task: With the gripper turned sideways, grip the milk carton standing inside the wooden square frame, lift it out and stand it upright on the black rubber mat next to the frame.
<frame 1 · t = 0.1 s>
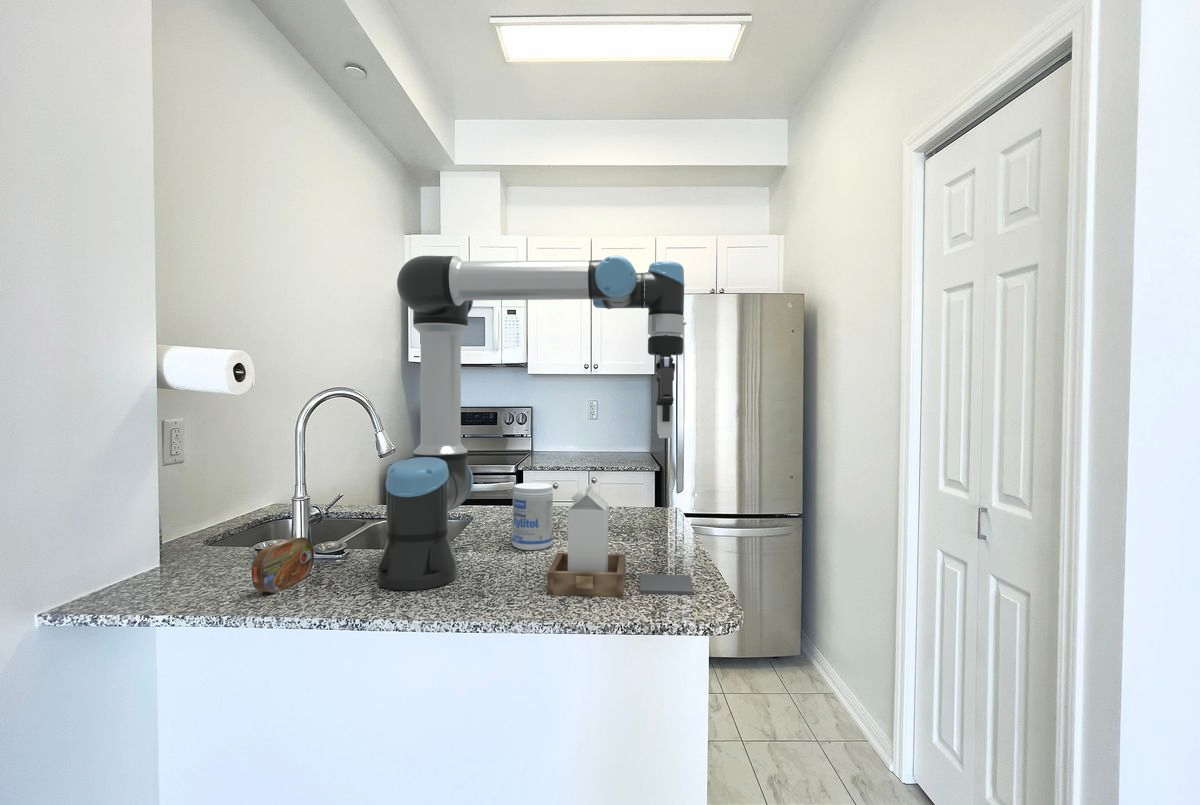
hand: (664, 436, 129), 28 cm above the countertop, tool pointing down, fingers open, 13 cm apart
rubber mat: (665, 585, 117), on the countertop
tin: (283, 586, 116), on the countertop
supplement tub: (532, 547, 146), on the countertop
milk carton: (588, 584, 118), resting in wooden square frame
wooden square frame: (588, 583, 118), on the countertop
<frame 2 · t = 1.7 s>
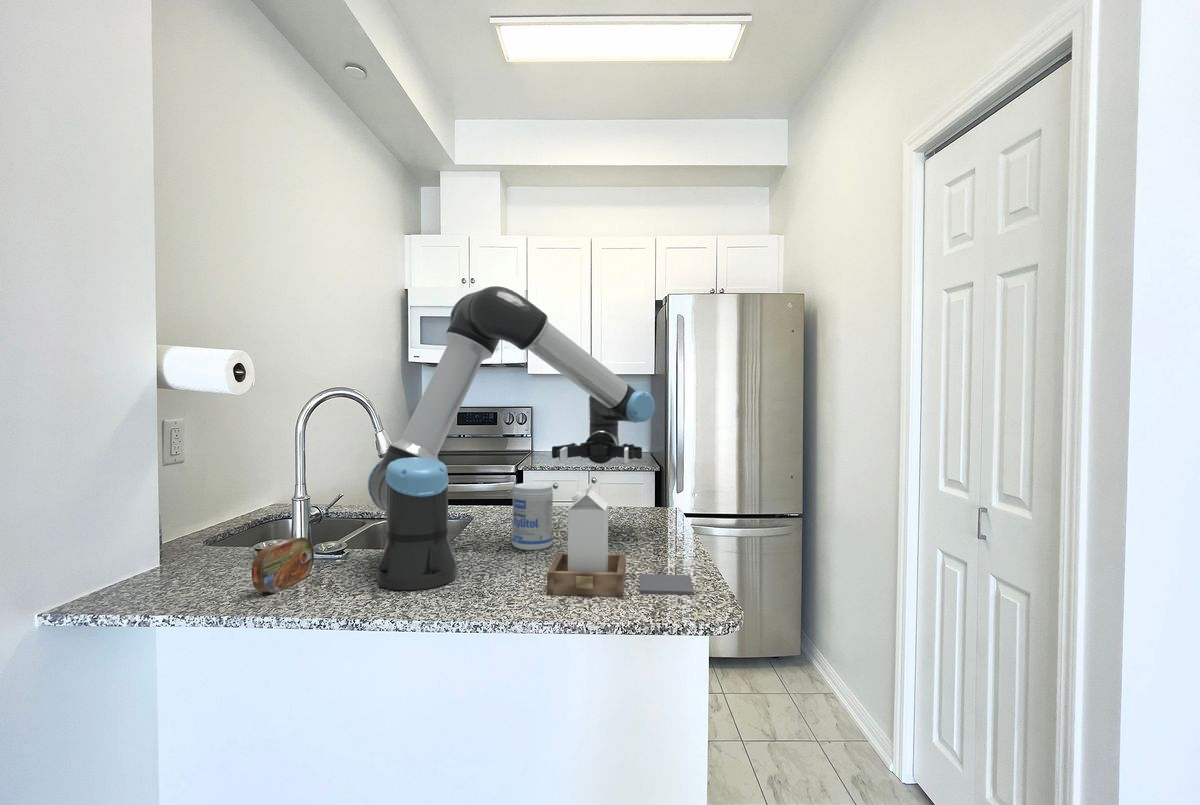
hand: (593, 456, 128), 24 cm above the countertop, tool horizontal, fingers open, 13 cm apart
nothing on the countertop moved.
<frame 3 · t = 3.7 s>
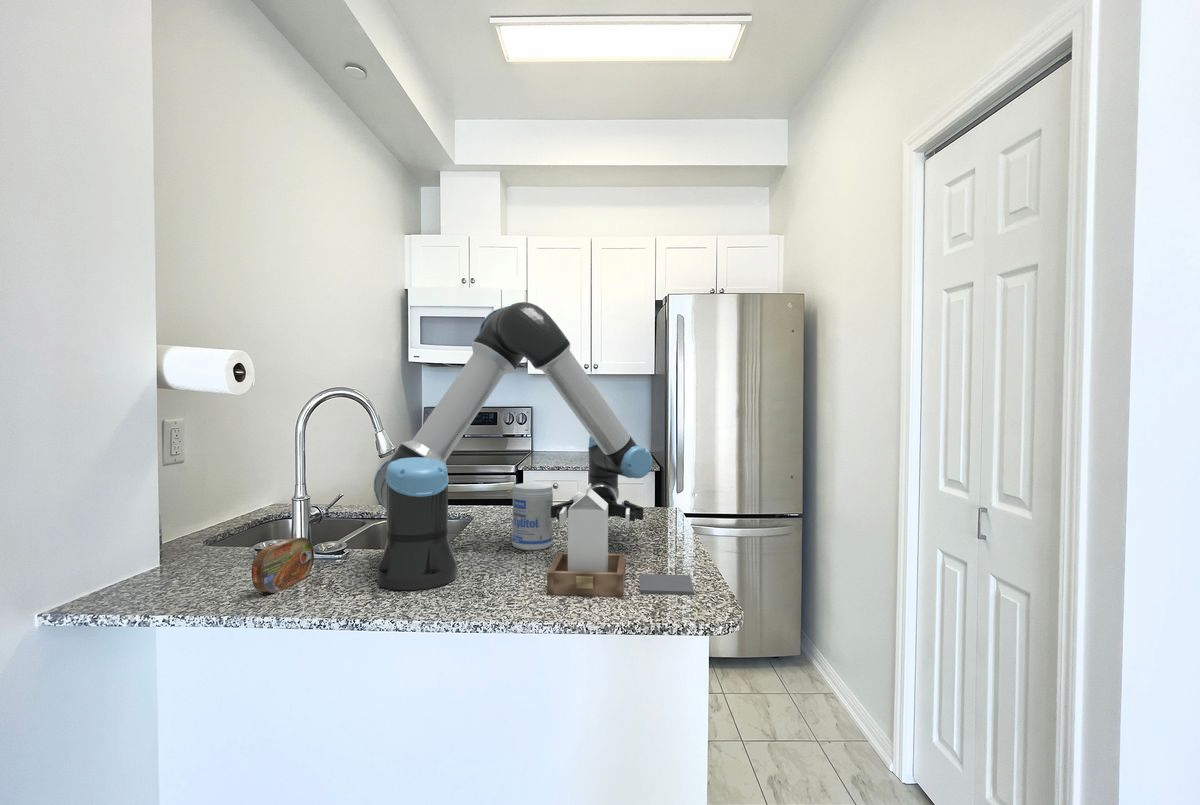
hand: (594, 520, 124), 11 cm above the countertop, tool horizontal, fingers open, 13 cm apart
nothing on the countertop moved.
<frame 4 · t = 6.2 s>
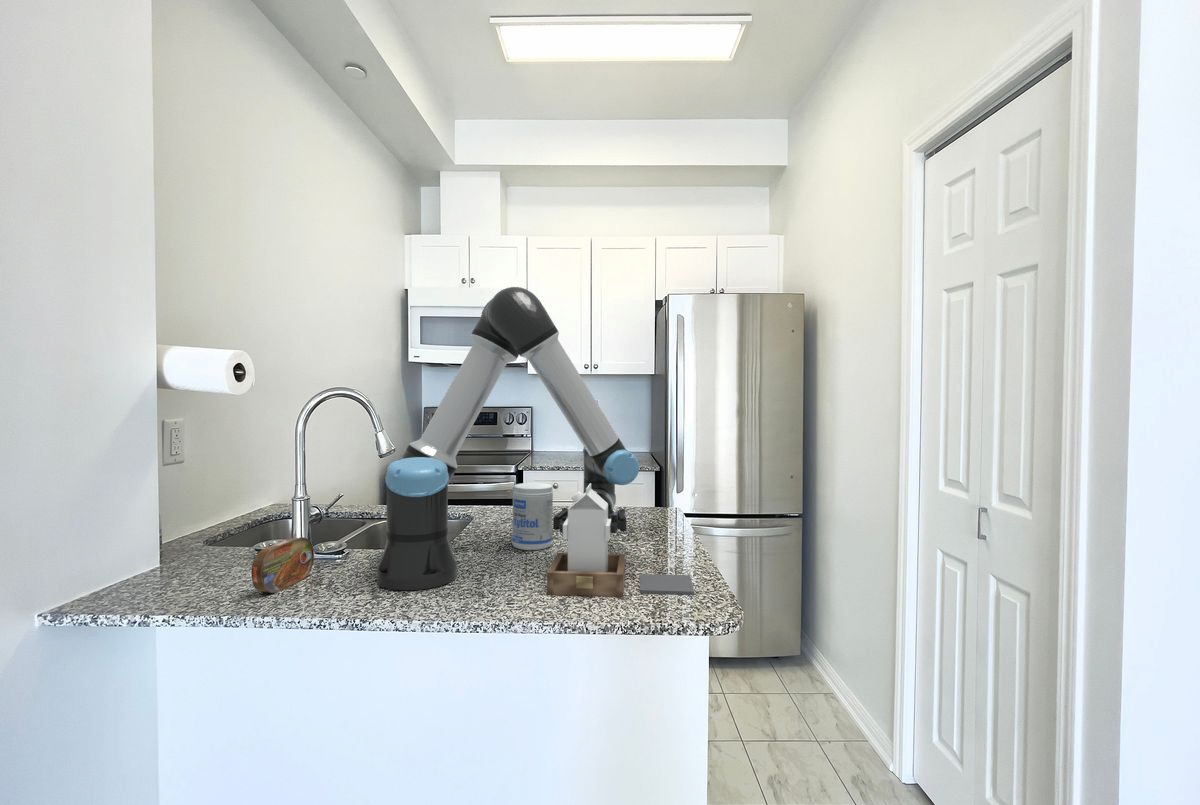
hand: (585, 532, 113), 11 cm above the countertop, tool horizontal, fingers closed on milk carton, 7 cm apart
milk carton: (588, 584, 118), resting in wooden square frame, touching gripper
everything else where it was.
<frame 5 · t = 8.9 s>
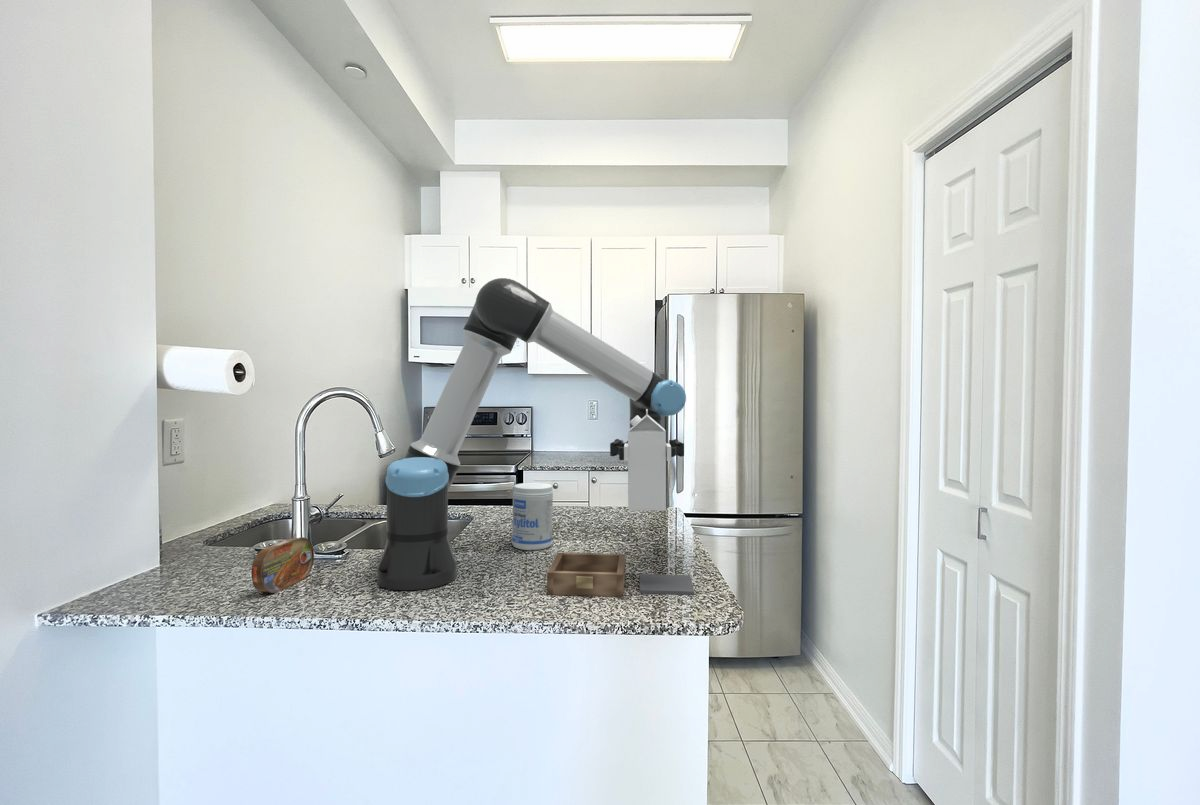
hand: (647, 453, 112), 26 cm above the countertop, tool horizontal, fingers closed on milk carton, 7 cm apart
milk carton: (647, 508, 117), point 15 cm above the countertop, touching gripper
everything else where it was.
when the fingers open (13 cm above the countertop, at t = 11.9 s): milk carton drops 1 cm, resting on rubber mat.
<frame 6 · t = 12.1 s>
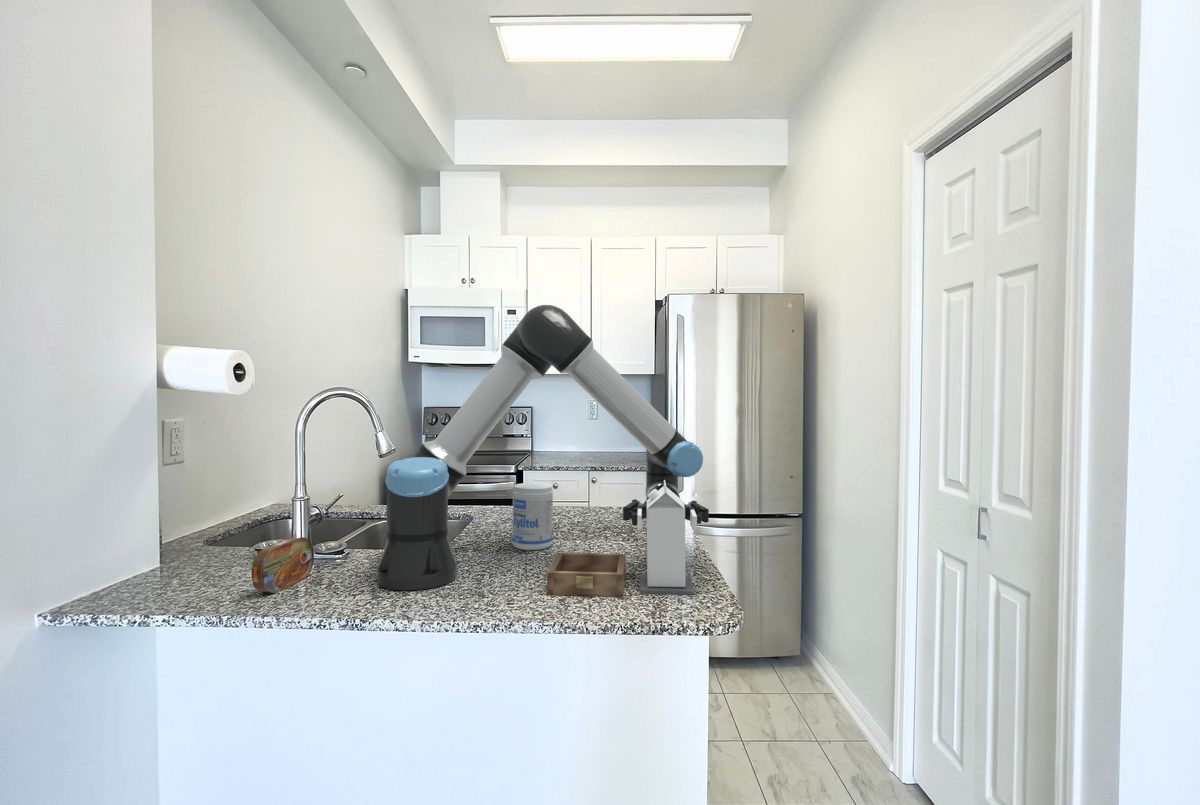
hand: (667, 523, 112), 13 cm above the countertop, tool horizontal, fingers open, 9 cm apart
milk carton: (665, 582, 117), point 1 cm above the countertop, touching rubber mat
everything else where it was.
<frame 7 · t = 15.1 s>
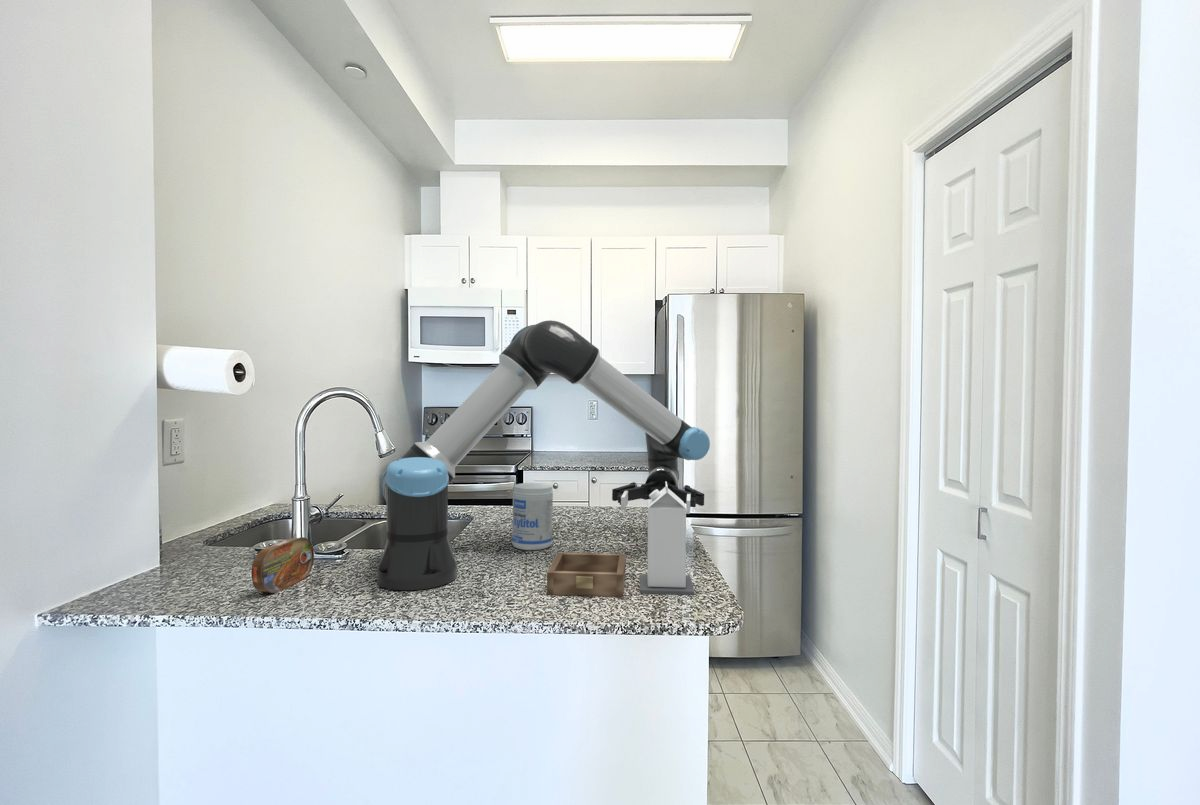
hand: (655, 505, 126), 14 cm above the countertop, tool horizontal, fingers open, 13 cm apart
nothing on the countertop moved.
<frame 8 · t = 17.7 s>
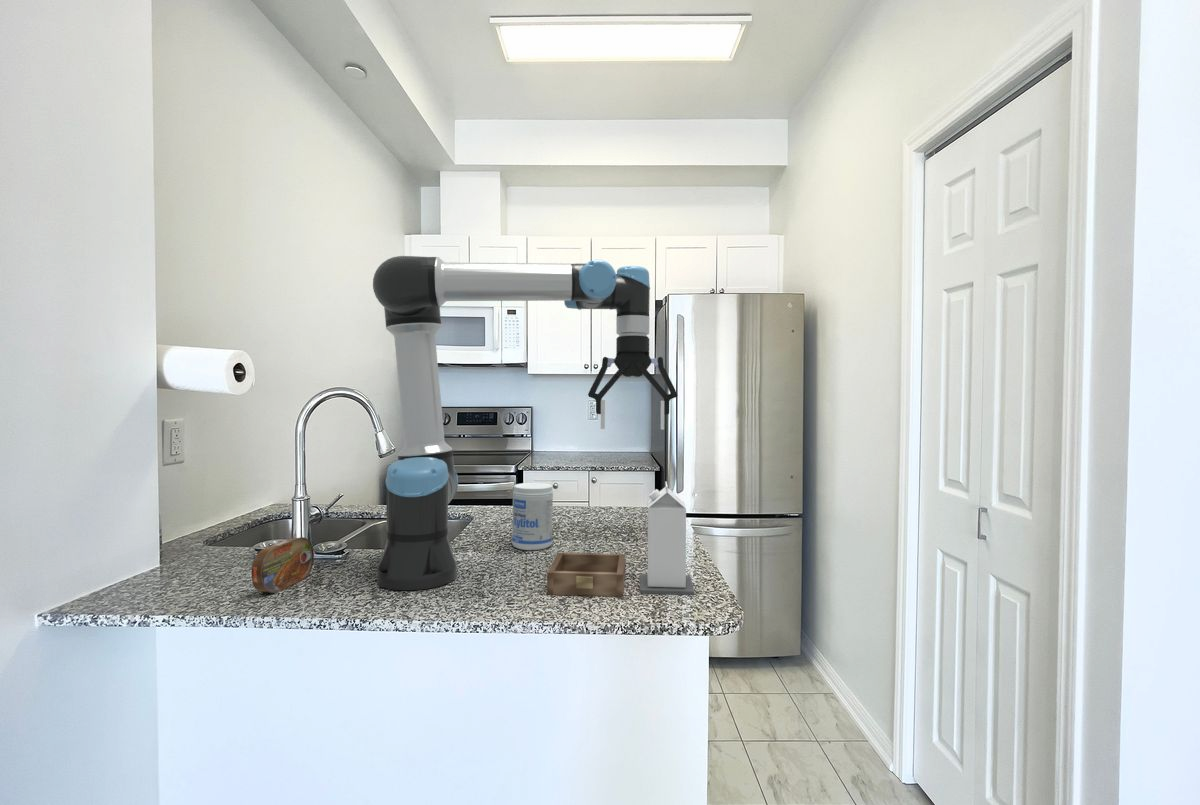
hand: (632, 429, 139), 29 cm above the countertop, tool pointing down, fingers open, 13 cm apart
nothing on the countertop moved.
at the end: milk carton inside the target area (0.0 cm from its centre), resting on rubber mat; milk carton tilted 0°; the gripper is holding nothing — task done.
